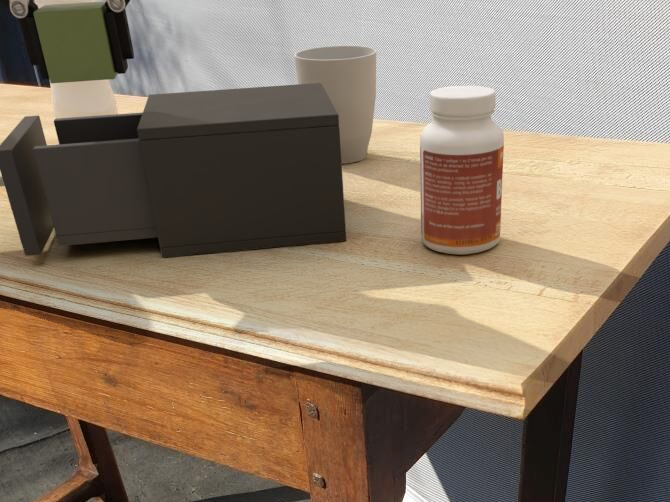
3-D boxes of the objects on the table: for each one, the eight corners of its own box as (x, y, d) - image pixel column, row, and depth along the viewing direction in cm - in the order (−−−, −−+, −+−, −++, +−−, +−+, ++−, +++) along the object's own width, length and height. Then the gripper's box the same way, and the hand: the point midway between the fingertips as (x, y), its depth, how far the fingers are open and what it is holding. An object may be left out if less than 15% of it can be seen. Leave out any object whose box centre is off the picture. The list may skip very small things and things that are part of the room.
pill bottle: (512, 251, 64) (520, 95, 57) (436, 261, 62) (436, 103, 56) (482, 225, 69) (487, 79, 62) (411, 235, 67) (408, 87, 61)
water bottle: (50, 136, 100) (-14, -118, 86) (105, 125, 104) (52, -120, 90) (76, 145, 96) (13, -121, 81) (132, 133, 99) (82, -123, 85)
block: (50, 83, 61) (32, 12, 58) (60, 72, 64) (43, 4, 62) (114, 79, 61) (100, 7, 58) (120, 68, 65) (107, 1, 62)
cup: (394, 152, 88) (392, 48, 83) (350, 172, 83) (344, 61, 77) (333, 144, 92) (326, 44, 86) (287, 162, 87) (277, 56, 81)
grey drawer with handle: (-49, 262, 63) (-85, 157, 59) (-15, 215, 72) (-44, 121, 68) (202, 240, 65) (185, 136, 61) (204, 197, 75) (189, 104, 70)
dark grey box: (161, 258, 65) (136, 128, 60) (169, 208, 75) (148, 94, 70) (346, 241, 67) (338, 114, 61) (329, 195, 77) (321, 82, 71)
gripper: (156, -240, 56) (200, 57, 67) (-108, -233, 54) (-20, 72, 65) (148, -257, 50) (198, 74, 60) (-149, -249, 48) (-44, 91, 59)
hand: (85, 70), depth 62 cm, fingers closed on block, 4 cm apart
